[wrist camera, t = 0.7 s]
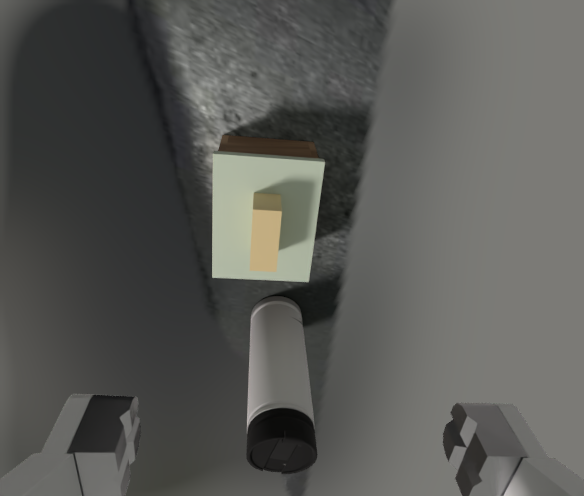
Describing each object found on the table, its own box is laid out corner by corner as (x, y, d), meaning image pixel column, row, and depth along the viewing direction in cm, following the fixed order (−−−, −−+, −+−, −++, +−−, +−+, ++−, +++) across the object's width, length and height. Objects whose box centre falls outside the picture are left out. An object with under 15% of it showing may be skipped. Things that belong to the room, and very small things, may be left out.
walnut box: (222, 134, 43) (217, 154, 38) (313, 141, 44) (320, 162, 39) (221, 241, 49) (216, 270, 44) (301, 245, 50) (305, 274, 45)
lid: (214, 147, 39) (208, 168, 34) (323, 155, 40) (330, 176, 35) (213, 268, 45) (208, 298, 40) (307, 273, 46) (311, 303, 41)
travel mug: (309, 299, 54) (330, 444, 37) (291, 338, 57) (304, 489, 40) (260, 287, 53) (258, 431, 35) (245, 328, 56) (236, 479, 38)
